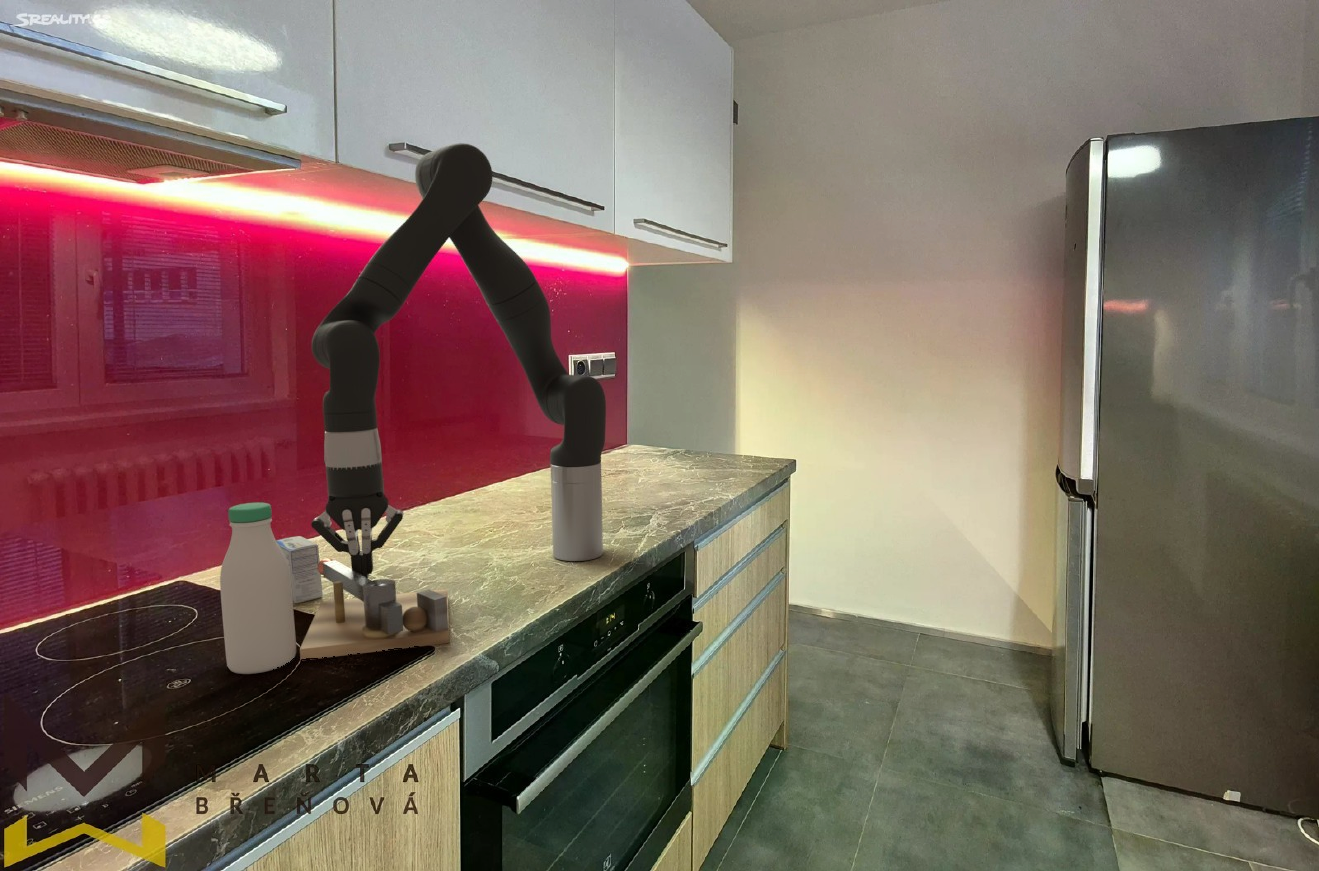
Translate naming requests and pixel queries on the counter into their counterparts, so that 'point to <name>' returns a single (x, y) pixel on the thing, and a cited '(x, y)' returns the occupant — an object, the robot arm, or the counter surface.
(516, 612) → the counter surface
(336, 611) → the base
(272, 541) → the milk bottle
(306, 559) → the medicine box
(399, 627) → the lever
